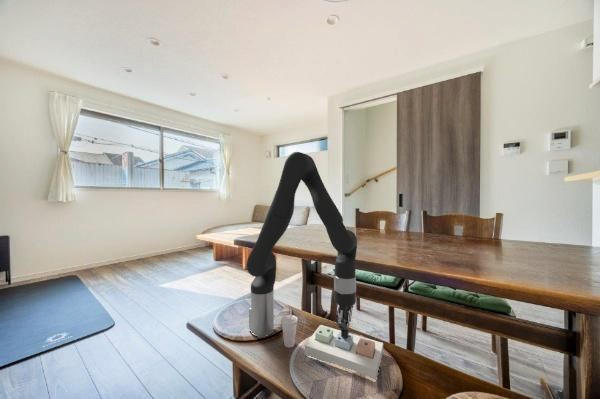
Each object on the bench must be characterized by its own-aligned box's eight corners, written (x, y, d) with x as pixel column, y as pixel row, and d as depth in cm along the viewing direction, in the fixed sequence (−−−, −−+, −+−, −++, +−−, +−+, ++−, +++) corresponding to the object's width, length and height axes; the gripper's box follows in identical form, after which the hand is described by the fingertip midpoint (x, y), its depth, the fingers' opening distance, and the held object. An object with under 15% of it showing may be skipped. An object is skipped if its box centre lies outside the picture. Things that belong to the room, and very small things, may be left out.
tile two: (315, 348, 84) (315, 332, 84) (320, 340, 88) (320, 325, 88) (328, 353, 82) (328, 336, 82) (333, 345, 86) (333, 329, 86)
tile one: (356, 363, 77) (356, 345, 77) (360, 353, 82) (360, 337, 81) (372, 368, 75) (372, 350, 75) (374, 358, 79) (375, 341, 79)
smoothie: (295, 351, 84) (295, 313, 83) (278, 348, 85) (278, 311, 84) (299, 340, 90) (299, 304, 89) (283, 337, 91) (283, 302, 91)
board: (304, 356, 81) (304, 345, 81) (320, 334, 93) (320, 324, 93) (376, 382, 70) (376, 369, 70) (383, 354, 82) (383, 342, 82)
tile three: (335, 355, 81) (335, 338, 80) (339, 347, 85) (339, 331, 85) (349, 360, 78) (349, 343, 78) (353, 351, 83) (353, 335, 82)
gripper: (340, 280, 88) (340, 324, 89) (328, 293, 77) (327, 344, 77) (360, 283, 85) (360, 330, 85) (350, 298, 73) (350, 352, 74)
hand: (344, 337), depth 81 cm, fingers closed
